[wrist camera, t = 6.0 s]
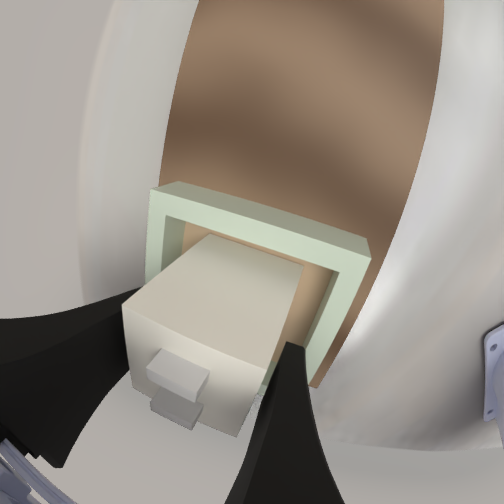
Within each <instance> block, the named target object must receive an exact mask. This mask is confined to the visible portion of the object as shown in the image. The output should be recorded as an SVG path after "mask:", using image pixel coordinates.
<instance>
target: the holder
mask: <svg viewBox="0 0 504 504" xmlns="http://www.w3.org/2000/svg"><path fill="white" fill-rule="evenodd" d="M208 234H213V235H216V236H219V237H222V238H225V239H228V240H231V241H234V242H236V243H239V244H242V245H245V246H248V247H251V248H254V249H257V250H260V251H263V252H265V253H268V254H271V255H274V256H277V257H280V258H283V259H286V260H289V261H291V262H294V263H297V264H300V265H303V266H304V268H303V271H302V274H301V277H300V280H299V283H298V286H297V289H296V292H295V295H294V298H293V301H292V303H291V306H290V309H289V312H288V315H287V318H286V321H285V323H284V326H283V329H282V332H281V335H280V337H279V340H278V343H277V345H276V348H275V351H274V353H273V356H272V359H271V361H270V364H269V367H268V369H267V372H266V374H265V376H264V379H263V381H262V383H261V385H260V388H259V390H258V392H257V394H259V395H262V396H264V394H265V391H266V389H267V386H268V384H269V381H270V378H271V376H272V374H273V372H274V369H275V367H276V365H277V362H278V360H279V358H280V355H281V353H282V350H283V348H284V346H285V343H286V341H288V342H291V343H294V344H297V345H300V346H303V347H304V348H305V350H306V371H307V380H308V385H309V383H310V381H311V380H312V378H313V376H314V375H315V373H316V371H317V369H318V367H319V366H320V364H321V362H322V360H323V359H324V357H325V355H326V353H327V351H328V349H329V347H330V346H331V344H332V342H333V340H334V338H335V336H336V334H337V332H338V330H339V328H340V326H341V324H342V322H343V320H344V318H345V316H346V314H347V312H348V310H349V308H350V306H351V304H352V301H353V299H354V297H355V295H356V293H357V291H358V288H359V286H360V284H361V282H362V279H363V277H364V275H365V273H366V270H367V268H368V265H369V263H370V261H371V254H370V250H369V246H368V242H367V238H364V237H361V236H359V235H356V234H353V233H350V232H347V231H344V230H341V229H338V228H335V227H332V226H329V225H326V224H323V223H320V222H317V221H314V220H311V219H308V218H305V217H302V216H299V215H295V214H292V213H289V212H286V211H283V210H279V209H276V208H273V207H270V206H266V205H263V204H260V203H256V202H253V201H249V200H246V199H243V198H239V197H236V196H232V195H229V194H225V193H221V192H218V191H214V190H210V189H207V188H203V187H199V186H196V185H192V184H188V183H184V182H180V181H177V182H173V183H170V184H166V185H163V186H159V187H156V188H153V189H151V190H150V200H149V211H148V224H147V239H146V259H145V285H146V284H147V283H148V282H149V281H151V280H152V279H153V278H154V277H155V276H157V275H158V274H159V273H160V272H162V271H163V270H164V269H165V268H167V267H168V266H169V265H170V264H171V263H173V262H174V261H175V260H176V259H178V258H179V257H180V256H182V255H183V254H184V253H185V252H187V251H188V250H189V249H190V248H192V247H193V246H194V245H195V244H197V243H198V242H199V241H201V240H202V239H203V238H204V237H206V236H207V235H208Z"/></svg>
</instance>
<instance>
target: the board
mask: <svg viewBox="0 0 504 504" xmlns="http://www.w3.org/2000/svg"><path fill="white" fill-rule="evenodd" d="M443 19H444V0H199V3H198V6H197V9H196V12H195V15H194V18H193V21H192V25H191V28H190V31H189V35H188V38H187V42H186V45H185V49H184V53H183V57H182V61H181V65H180V69H179V73H178V77H177V81H176V86H175V90H174V95H173V100H172V105H171V110H170V115H169V120H168V126H167V131H166V137H165V143H164V150H163V156H162V163H161V171H160V178H159V186H163V185H166V184H170V183H173V182H177V181H180V182H184V183H188V184H192V185H196V186H199V187H203V188H207V189H210V190H214V191H218V192H221V193H225V194H229V195H232V196H236V197H239V198H243V199H246V200H249V201H253V202H256V203H260V204H263V205H266V206H270V207H273V208H276V209H279V210H283V211H286V212H289V213H292V214H295V215H299V216H302V217H305V218H308V219H311V220H314V221H317V222H320V223H323V224H326V225H329V226H332V227H335V228H338V229H341V230H344V231H347V232H350V233H353V234H356V235H359V236H361V237H364V238H367V242H368V246H369V250H370V254H371V261H370V263H369V265H368V268H367V270H366V273H365V275H364V277H363V279H362V282H361V284H360V286H359V288H358V291H357V293H356V295H355V297H354V299H353V301H352V304H351V306H350V308H349V310H348V312H347V314H346V316H345V318H344V320H343V322H342V324H341V326H340V328H339V330H338V332H337V334H336V336H335V338H334V340H333V342H332V344H331V346H330V347H329V349H328V351H327V353H326V355H325V357H324V359H323V360H322V362H321V364H320V366H319V367H318V369H317V371H316V373H315V375H314V376H313V378H312V380H311V381H310V383H309V385H308V386H310V387H314V388H317V387H318V386H319V384H320V382H321V381H322V379H323V378H324V376H325V374H326V373H327V371H328V369H329V368H330V366H331V364H332V363H333V361H334V359H335V357H336V356H337V354H338V352H339V350H340V349H341V347H342V345H343V343H344V341H345V340H346V338H347V336H348V334H349V332H350V330H351V328H352V327H353V325H354V323H355V321H356V319H357V317H358V315H359V313H360V311H361V309H362V307H363V305H364V303H365V301H366V299H367V297H368V295H369V292H370V290H371V288H372V286H373V284H374V282H375V279H376V277H377V275H378V273H379V271H380V268H381V266H382V264H383V261H384V259H385V257H386V254H387V252H388V249H389V247H390V244H391V242H392V239H393V237H394V234H395V232H396V229H397V226H398V224H399V221H400V218H401V216H402V213H403V210H404V207H405V204H406V201H407V198H408V195H409V192H410V189H411V186H412V183H413V180H414V177H415V173H416V170H417V167H418V163H419V160H420V156H421V152H422V149H423V145H424V141H425V137H426V133H427V129H428V124H429V120H430V115H431V110H432V106H433V100H434V95H435V90H436V84H437V77H438V71H439V63H440V55H441V46H442V35H443ZM159 186H158V187H159Z"/></svg>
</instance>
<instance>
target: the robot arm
mask: <svg viewBox="0 0 504 504" xmlns="http://www.w3.org/2000/svg"><path fill="white" fill-rule="evenodd" d="M141 288H142V287H140V288H137V289H134V290H131V291H128V292H125V293H122V294H119V295H116V296H113V297H110V298H107V299H104V300H101V301H98V302H95V303H92V304H89V305H85V306H82V307H78V308H75V309H71V310H68V311H64V312H59V313H54V314H49V315H43V316H35V317H26V318H14V319H0V453H1V454H2V456H3V457H4V458H5V459H6V460H7V461H8V463H9V464H10V465H11V466H12V467H13V468H14V469H15V470H16V471H17V472H16V471H15V470H14V469H13V468H12V467H11V466H10V465H9V464H8V463H6V462H5V461H4V460H3V459H2V458H1V457H0V504H41V503H40V502H38V501H37V500H36V499H35V498H34V497H33V496H32V495H30V494H29V493H30V492H31V488H30V486H31V487H32V488H33V489H34V490H35V491H36V492H38V493H39V494H40V495H41V496H42V497H43V498H44V499H45V500H46V501H47V502H48V503H50V504H77V503H76V502H74V501H73V500H72V499H70V498H69V497H68V496H66V495H65V494H64V493H63V492H62V491H61V490H59V489H58V488H57V487H56V486H55V485H53V484H52V483H51V482H50V481H49V480H48V479H47V478H46V477H44V476H43V475H42V474H41V473H40V472H39V471H38V470H37V469H36V468H35V467H34V466H33V465H32V464H31V463H30V462H29V461H28V460H27V459H26V458H25V456H26V454H27V453H28V452H29V453H30V454H31V455H32V456H33V457H34V458H35V459H37V457H39V455H41V456H42V457H43V458H44V459H45V460H46V461H47V462H48V463H49V464H50V465H51V466H53V467H54V468H63V466H64V463H65V461H66V459H67V457H68V455H69V453H70V451H71V449H72V447H73V445H74V444H75V442H76V440H77V438H78V436H79V435H80V433H81V431H82V430H83V428H84V426H85V425H86V423H87V422H88V420H89V419H90V417H91V416H92V414H93V413H94V411H95V410H96V408H97V407H98V406H99V404H100V403H101V401H102V400H103V398H104V397H105V396H106V395H107V394H108V392H109V391H110V390H111V389H112V388H113V387H114V386H115V384H116V383H117V382H118V381H119V380H120V379H121V378H122V377H123V376H124V375H125V374H126V373H127V372H128V371H129V370H130V368H129V362H128V355H127V348H126V341H125V333H124V324H123V314H122V304H123V303H124V302H125V301H126V300H128V299H129V298H130V297H131V296H132V295H134V294H135V293H136V292H137V291H138V290H140V289H141ZM492 345H493V346H492ZM491 346H492V347H491ZM484 349H485V398H484V413H483V419H484V422H488V421H490V420H492V419H494V418H496V421H497V424H498V428H499V432H500V435H501V439H502V444H503V448H504V324H503V325H501V326H500V327H498V328H496V329H494V330H492V331H491V332H489V333H488V334H487V335H486V337H485V339H484ZM27 483H28V484H29V485H30V486H29V485H28V484H27ZM225 504H345V503H344V501H343V499H342V497H341V495H340V492H339V490H338V488H337V486H336V483H335V481H334V479H333V476H332V474H331V472H330V470H329V467H328V464H327V461H326V458H325V455H324V452H323V449H322V446H321V443H320V439H319V436H318V432H317V428H316V424H315V419H314V415H313V410H312V405H311V400H310V394H309V388H308V380H307V371H306V350H305V348H304V347H303V346H300V345H297V344H294V343H291V342H288V341H286V343H285V346H284V348H283V350H282V353H281V355H280V358H279V360H278V362H277V365H276V367H275V369H274V372H273V374H272V376H271V378H270V381H269V384H268V386H267V389H266V391H265V394H264V396H263V399H262V402H261V405H260V408H259V412H258V415H257V419H256V422H255V426H254V430H253V433H252V436H251V440H250V443H249V446H248V450H247V453H246V456H245V459H244V461H243V464H242V467H241V469H240V471H239V474H238V476H237V478H236V480H235V482H234V484H233V487H232V489H231V491H230V493H229V495H228V497H227V499H226V501H225Z"/></svg>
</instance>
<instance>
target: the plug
mask: <svg viewBox="0 0 504 504" xmlns="http://www.w3.org/2000/svg"><path fill="white" fill-rule="evenodd" d="M303 268H304V266H303V265H300V264H297V263H294V262H291V261H289V260H286V259H283V258H280V257H277V256H274V255H271V254H268V253H265V252H263V251H260V250H257V249H254V248H251V247H248V246H245V245H242V244H239V243H236V242H234V241H231V240H228V239H225V238H222V237H219V236H216V235H213V234H208V235H207V236H206V237H204V238H203V239H202V240H201V241H199V242H198V243H197V244H195V245H194V246H193V247H192V248H190V249H189V250H188V251H187V252H185V253H184V254H183V255H182V256H180V257H179V258H178V259H176V260H175V261H174V262H173V263H171V264H170V265H169V266H168V267H167V268H165V269H164V270H163V271H162V272H160V273H159V274H158V275H157V276H155V277H154V278H153V279H152V280H151V281H149V282H148V283H147V284H146V285H144V286H143V287H142V288H141V289H140V290H138V291H137V292H136V293H135V294H134V295H132V296H131V297H130V298H129V299H128V300H126V301H125V302H124V303H123V304H122V314H123V324H124V333H125V341H126V348H127V355H128V362H129V368H130V374H131V379H132V385H133V388H134V389H136V390H138V391H139V392H142V393H143V394H145V395H147V396H148V397H150V398H152V400H151V402H150V407H151V410H152V411H154V412H156V413H158V414H159V415H161V416H163V417H165V418H167V419H169V420H171V421H173V422H175V423H177V424H180V425H181V426H183V427H185V428H187V429H189V430H192V429H193V427H194V426H195V424H196V422H197V421H198V422H200V423H203V424H205V425H207V426H209V427H212V428H214V429H216V430H219V431H221V432H224V433H226V434H229V435H231V436H234V437H237V435H238V433H239V431H240V429H241V426H242V425H243V422H244V420H245V418H246V416H247V414H248V412H249V410H250V408H251V405H252V403H253V401H254V399H255V397H256V394H257V392H258V390H259V388H260V385H261V383H262V381H263V379H264V376H265V374H266V372H267V369H268V367H269V364H270V361H271V359H272V356H273V353H274V351H275V348H276V345H277V343H278V340H279V337H280V335H281V332H282V329H283V326H284V323H285V321H286V318H287V315H288V312H289V309H290V306H291V303H292V301H293V298H294V295H295V292H296V289H297V286H298V283H299V280H300V277H301V274H302V271H303Z"/></svg>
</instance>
